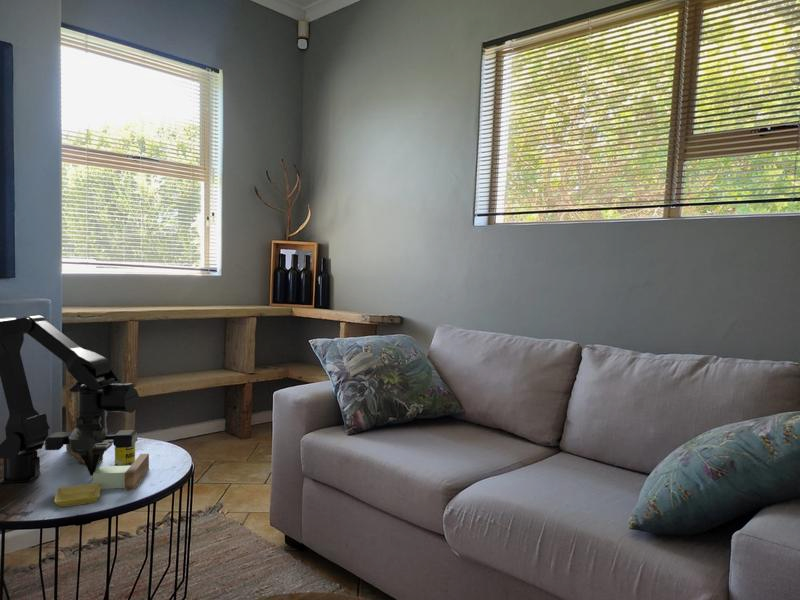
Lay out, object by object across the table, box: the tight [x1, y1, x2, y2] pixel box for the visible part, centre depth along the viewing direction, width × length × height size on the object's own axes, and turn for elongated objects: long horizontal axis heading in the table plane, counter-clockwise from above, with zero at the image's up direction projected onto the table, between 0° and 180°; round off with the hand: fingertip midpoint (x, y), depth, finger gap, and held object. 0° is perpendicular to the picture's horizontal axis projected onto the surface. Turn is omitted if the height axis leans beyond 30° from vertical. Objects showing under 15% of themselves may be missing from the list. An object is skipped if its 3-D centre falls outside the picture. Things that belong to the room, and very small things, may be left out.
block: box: [92, 465, 131, 490], centre depth 135 cm, size 7×5×4 cm
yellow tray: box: [53, 483, 101, 508], centre depth 126 cm, size 9×9×2 cm
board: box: [124, 453, 150, 491], centre depth 138 cm, size 2×14×4 cm, turn 11°
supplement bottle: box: [114, 443, 136, 466], centre depth 147 cm, size 5×5×8 cm
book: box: [65, 366, 104, 466], centre depth 154 cm, size 16×6×25 cm, turn 43°
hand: (92, 475), depth 135 cm, fingers closed
